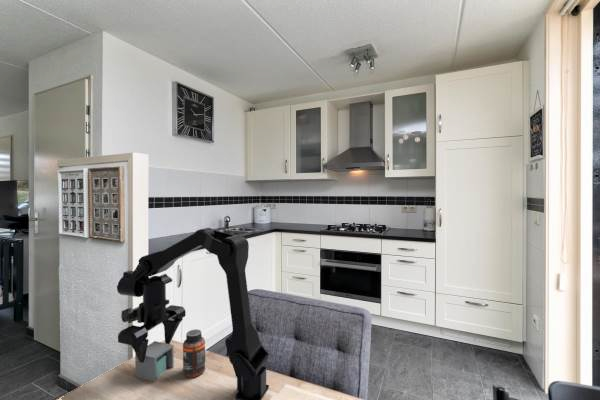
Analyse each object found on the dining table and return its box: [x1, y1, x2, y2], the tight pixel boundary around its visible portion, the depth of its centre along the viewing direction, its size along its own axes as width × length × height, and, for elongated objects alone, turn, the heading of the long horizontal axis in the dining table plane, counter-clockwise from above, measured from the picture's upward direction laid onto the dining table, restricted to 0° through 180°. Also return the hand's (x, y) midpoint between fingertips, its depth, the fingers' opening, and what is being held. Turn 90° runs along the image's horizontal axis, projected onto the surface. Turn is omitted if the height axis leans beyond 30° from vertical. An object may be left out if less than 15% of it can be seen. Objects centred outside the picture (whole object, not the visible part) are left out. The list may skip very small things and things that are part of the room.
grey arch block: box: [134, 340, 175, 383], centre depth 82 cm, size 7×7×6 cm
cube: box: [157, 355, 167, 377], centre depth 82 cm, size 4×4×4 cm
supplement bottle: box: [182, 328, 206, 378], centre depth 82 cm, size 6×6×11 cm
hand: (155, 353), depth 82 cm, fingers open, 9 cm apart
